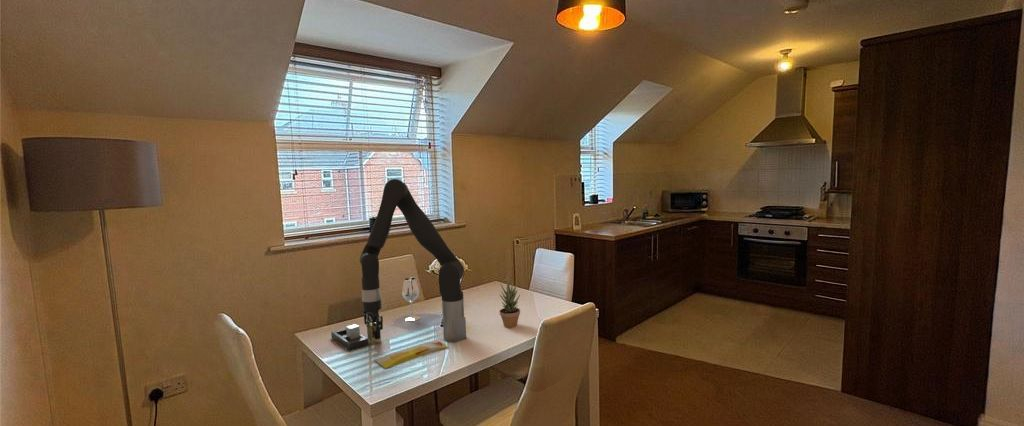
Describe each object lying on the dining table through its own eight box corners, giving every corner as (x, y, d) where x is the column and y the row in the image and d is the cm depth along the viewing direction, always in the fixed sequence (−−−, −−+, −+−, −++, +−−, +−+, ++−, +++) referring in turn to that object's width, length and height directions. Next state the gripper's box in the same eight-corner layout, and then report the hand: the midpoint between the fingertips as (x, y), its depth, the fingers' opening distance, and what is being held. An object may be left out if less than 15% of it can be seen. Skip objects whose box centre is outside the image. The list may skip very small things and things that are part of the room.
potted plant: (504, 321, 204) (502, 270, 202) (523, 323, 201) (521, 271, 198) (496, 328, 195) (494, 275, 192) (516, 330, 191) (514, 276, 189)
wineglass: (418, 321, 208) (415, 280, 206) (402, 321, 208) (399, 281, 206) (421, 315, 216) (419, 276, 214) (406, 316, 216) (404, 277, 214)
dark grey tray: (368, 345, 180) (368, 338, 180) (349, 351, 175) (349, 344, 175) (349, 333, 195) (349, 326, 195) (331, 338, 190) (331, 331, 190)
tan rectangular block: (381, 341, 184) (379, 323, 183) (372, 344, 181) (370, 326, 181) (376, 339, 187) (375, 321, 186) (368, 341, 184) (366, 323, 184)
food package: (384, 365, 157) (373, 356, 165) (385, 371, 158) (374, 362, 165) (448, 343, 175) (435, 337, 183) (448, 349, 175) (436, 342, 183)
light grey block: (360, 344, 182) (359, 326, 181) (351, 347, 179) (349, 328, 178) (356, 342, 185) (355, 323, 184) (347, 344, 182) (346, 326, 181)
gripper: (387, 300, 180) (390, 338, 181) (372, 293, 190) (375, 330, 192) (370, 304, 175) (373, 344, 176) (356, 297, 185) (358, 335, 187)
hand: (374, 336), depth 184 cm, fingers open, 6 cm apart
